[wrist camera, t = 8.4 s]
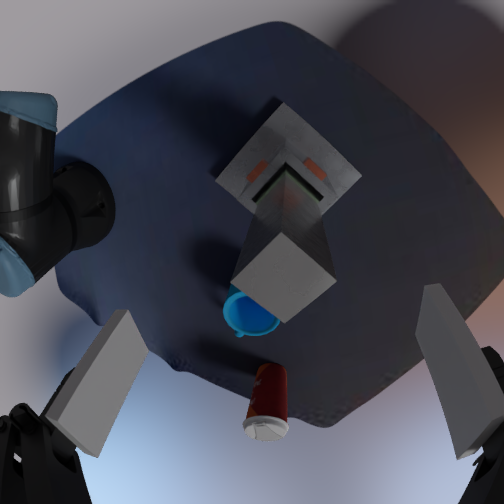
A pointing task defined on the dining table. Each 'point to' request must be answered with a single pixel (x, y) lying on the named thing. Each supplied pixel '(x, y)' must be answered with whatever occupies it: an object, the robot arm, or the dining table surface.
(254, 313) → the mug
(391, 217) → the dining table surface
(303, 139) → the stand base
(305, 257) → the column
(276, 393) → the coffee cup
